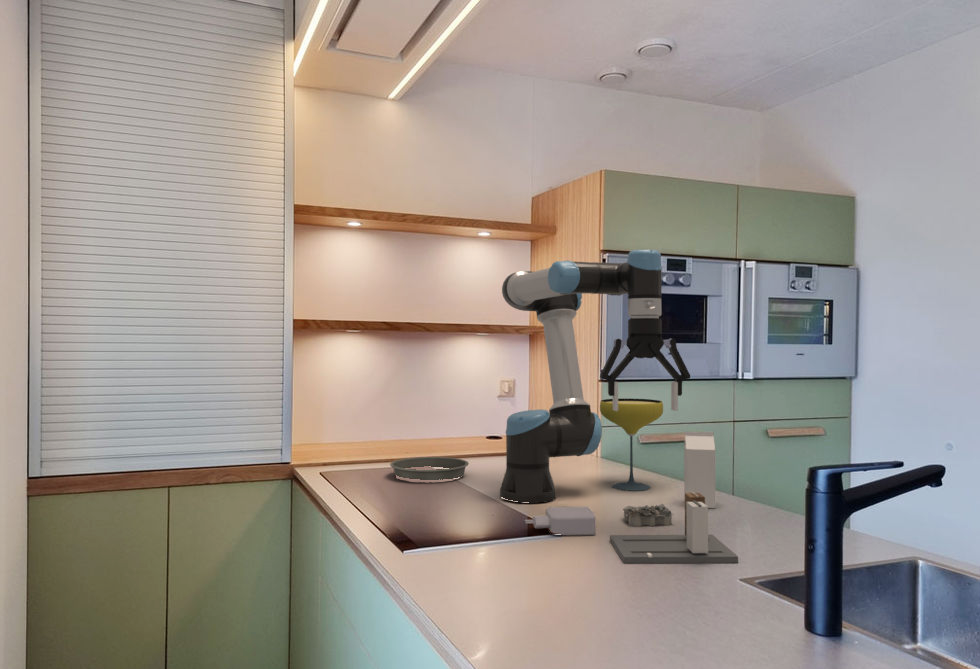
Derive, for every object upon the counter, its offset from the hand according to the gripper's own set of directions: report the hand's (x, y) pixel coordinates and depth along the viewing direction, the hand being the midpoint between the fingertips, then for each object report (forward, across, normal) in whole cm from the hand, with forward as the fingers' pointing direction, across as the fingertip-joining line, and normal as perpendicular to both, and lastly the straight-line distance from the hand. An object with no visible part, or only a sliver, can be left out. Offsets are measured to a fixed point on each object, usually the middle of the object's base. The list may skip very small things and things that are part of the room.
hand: (644, 410), depth 159 cm
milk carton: (+27, +19, +21) cm, 39 cm away
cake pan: (+27, -54, +60) cm, 85 cm away
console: (+27, +1, -18) cm, 32 cm away
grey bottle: (+27, -20, -3) cm, 34 cm away
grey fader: (+25, +5, -22) cm, 34 cm away
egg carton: (+27, +2, +5) cm, 28 cm away
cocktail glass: (+27, +6, +43) cm, 51 cm away
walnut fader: (+25, +7, -14) cm, 30 cm away
